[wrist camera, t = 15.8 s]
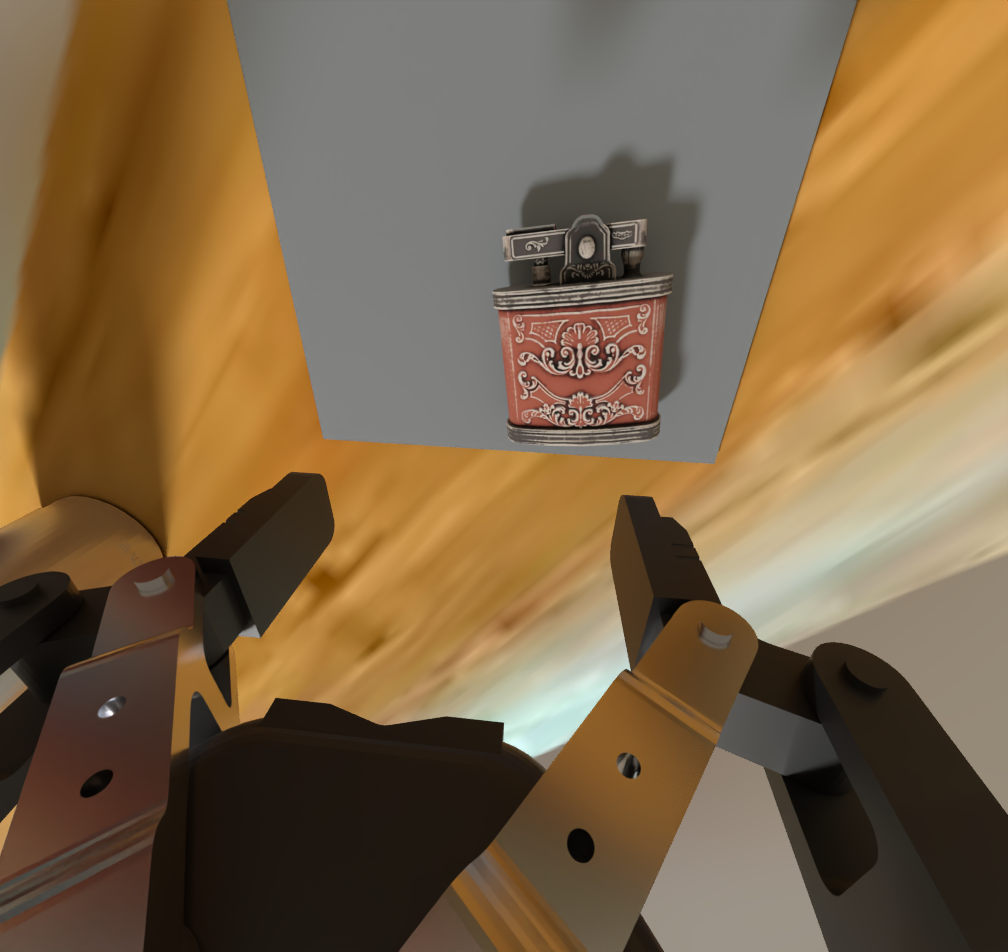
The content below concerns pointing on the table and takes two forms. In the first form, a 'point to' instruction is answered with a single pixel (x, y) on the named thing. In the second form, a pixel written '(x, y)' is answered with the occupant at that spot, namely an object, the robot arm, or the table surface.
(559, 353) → the lighter
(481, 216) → the mat
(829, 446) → the table surface
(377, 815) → the robot arm
